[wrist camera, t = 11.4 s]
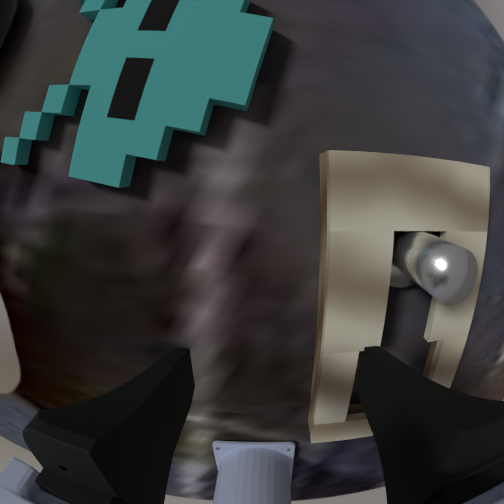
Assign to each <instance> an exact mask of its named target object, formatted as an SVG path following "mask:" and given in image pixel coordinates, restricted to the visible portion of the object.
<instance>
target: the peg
mask: <svg viewBox="0 0 504 504" xmlns="http://www.w3.org/2000/svg"><path fill="white" fill-rule="evenodd" d="M477 276H478V264H477V260H476V258H475V256H474V254H473V253H472V252H471V251H469V250H468V249H465V248H463V247H461V246H458V245H456V244H454V243H451V242H449V241H446V240H444V239H442V238H439V236H438V232H437V231H394V242H393V255H392V266H391V276H390V285H389V286H393V287H408V286H411V285H414V284H418V285H419V286H420V287H422V288H423V289H424V290H425V291H427V292H428V293H429V294H430V295H432V296H433V297H434V298H435V299H437V300H438V301H439V302H440V303H442V304H443V305H446V306H454V305H457V304H459V303H461V302H462V301H464V300H465V299H466V298H467V297H468V296H469V294H470V293H471V292H472V290H473V288H474V286H475V283H476V280H477Z"/></svg>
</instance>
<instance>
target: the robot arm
mask: <svg viewBox="0 0 504 504" xmlns="http://www.w3.org/2000/svg"><path fill="white" fill-rule="evenodd" d="M357 387H358V392H359V396H360V401H361V404H362V407H363V410H364V412H365V415H366V418H367V420H368V423H369V425H370V428H371V430H372V433H373V436H374V438H375V441H376V444H377V447H378V450H379V455H380V459H381V464H382V469H383V474H384V480H385V487H386V495H387V504H504V401H495V400H488V399H483V398H478V397H474V396H470V395H467V394H464V393H461V392H458V391H455V390H452V389H450V388H447V387H445V386H443V385H441V384H438V383H436V382H434V381H432V380H430V379H429V378H427V377H425V376H423V375H422V374H420V373H418V372H417V371H415V370H413V369H412V368H410V367H409V366H407V365H406V364H404V363H403V362H401V361H400V360H399V359H397V358H396V357H394V356H393V355H391V354H390V353H389V352H387V351H386V350H384V349H383V348H381V347H379V346H370V347H365V348H364V353H363V358H362V363H361V368H360V373H359V378H358V382H357ZM194 388H195V384H194V378H193V371H192V364H191V357H190V350H189V348H174V349H172V350H171V351H170V352H168V353H167V354H166V355H165V356H163V357H162V358H161V359H160V360H158V361H157V362H156V363H154V364H153V365H152V366H150V367H149V368H148V369H146V370H145V371H143V372H142V373H140V374H139V375H137V376H136V377H134V378H133V379H131V380H130V381H128V382H127V383H125V384H123V385H121V386H119V387H117V388H115V389H113V390H111V391H109V392H107V393H105V394H102V395H100V396H97V397H95V398H92V399H90V400H87V401H83V402H80V403H77V404H73V405H69V406H64V407H58V408H52V409H45V410H40V411H39V412H38V413H37V414H36V415H35V416H34V418H33V419H32V420H31V421H30V422H29V424H28V425H27V426H26V427H25V429H24V430H23V437H24V440H25V442H26V444H27V446H28V448H29V449H30V450H31V452H32V453H33V455H34V456H35V457H36V459H37V460H38V461H39V463H40V464H41V465H42V467H43V470H42V471H41V473H39V472H38V471H37V470H36V469H34V468H33V467H31V466H29V465H27V464H26V463H24V462H22V461H20V460H19V459H17V458H15V457H13V458H12V459H11V460H10V462H9V463H8V464H7V466H6V467H5V468H4V470H3V471H2V472H1V474H0V504H164V500H165V494H166V487H167V482H168V477H169V472H170V467H171V463H172V458H173V454H174V451H175V447H176V444H177V442H178V439H179V436H180V434H181V431H182V428H183V426H184V423H185V420H186V418H187V415H188V412H189V409H190V406H191V403H192V398H193V393H194ZM213 450H214V455H215V459H216V464H217V468H218V477H217V483H216V488H215V494H214V500H213V504H291V491H290V485H291V478H292V470H293V461H294V453H295V443H294V442H234V441H214V442H213Z"/></svg>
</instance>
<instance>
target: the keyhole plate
mask: <svg viewBox="0 0 504 504" xmlns="http://www.w3.org/2000/svg"><path fill="white" fill-rule="evenodd" d="M319 156H320V270H319V295H318V314H317V330H316V344H315V357H314V368H313V379H312V389H311V398H310V407H309V415H308V423H309V430H310V438H311V443H319V442H330V441H339V440H347V439H354V438H361V437H367V436H373V433H372V430H371V428H370V425H369V423H368V420H367V418H366V415H365V412H364V410H363V407H362V404H361V403H360V404H352V405H349V402H350V398H351V393H352V388H353V383H354V378H355V372H356V367H357V361H358V355H359V351H364V348H365V347H370V346H379V347H380V344H381V339H382V333H383V328H384V321H385V315H386V308H387V301H388V293H389V285H390V276H391V266H392V255H393V242H394V231H440V238H442V239H444V240H446V241H449V242H451V243H454V244H456V245H458V246H461V247H463V248H465V249H468V250H469V251H471V252H472V253H473V254H474V256H475V258H476V260H477V264H478V276H477V280H476V283H475V286H474V288H473V290H472V292H471V293H470V294H469V296H468V297H467V298H466V299H465V300H464V301H462V302H461V303H459V304H457V305H454V306H446V305H443V304H442V303H440V302H439V301H438V300H437V299H435V298H434V297H433V296H432V300H431V305H430V310H429V315H428V320H427V325H426V329H425V334H424V338H425V339H426V340H427V342H431V346H430V350H429V353H428V357H427V360H426V364H425V367H424V370H423V374H422V375H423V376H425V377H427V378H429V379H430V380H432V381H434V382H436V383H438V384H441V385H443V386H445V387H447V388H450V386H451V384H452V381H453V378H454V376H455V373H456V370H457V367H458V365H459V362H460V359H461V356H462V353H463V349H464V346H465V343H466V340H467V336H468V333H469V329H470V325H471V322H472V318H473V314H474V310H475V305H476V301H477V296H478V291H479V286H480V281H481V275H482V269H483V263H484V256H485V249H486V240H487V230H488V218H489V198H490V167H486V166H481V165H475V164H469V163H463V162H457V161H450V160H443V159H436V158H428V157H419V156H410V155H400V154H388V153H375V152H359V151H337V150H328V151H326V152H324V153H322V154H319Z"/></svg>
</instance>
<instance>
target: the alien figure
mask: <svg viewBox="0 0 504 504" xmlns="http://www.w3.org/2000/svg"><path fill="white" fill-rule="evenodd" d="M77 1H79V2H80V3H84V4H83V6H82V8H81V10H80V12H79V13H80V14H82V15H83V16H85V17H86V18H87V19H89V20H95V21H94V23H93V25H92V27H91V29H90V32H89V34H88V36H87V38H86V41H85V43H84V46H83V48H82V50H81V53H80V56H79V58H78V61H77V63H76V66H75V69H74V72H73V75H72V77H71V80H70V83H69V85H50V86H49V89H48V92H47V96H46V99H45V102H44V106H43V110H42V112H25V115H24V119H23V123H22V128H21V132H20V137H19V138H18V137H5V141H4V146H3V152H2V158H1V162H3V163H8V164H13V165H23V164H28V160H29V154H30V149H31V144H32V140H42V141H49V137H50V133H51V129H52V124H53V120H54V117H55V115H65V116H74V113H75V110H76V106H77V103H78V99H79V96H80V93H81V90H89V93H88V96H87V100H86V103H85V107H84V110H83V114H82V117H81V121H80V125H79V129H78V133H77V137H76V142H75V146H74V151H73V156H72V161H71V166H70V171H69V176H70V177H74V178H79V179H83V180H87V181H92V182H96V183H101V184H105V185H109V186H113V187H118V188H121V187H130V184H131V179H132V175H133V170H134V166H135V161H136V157H137V156H138V157H143V158H148V159H153V160H159V161H166V157H167V153H168V149H169V146H170V142H171V138H172V135H173V131H174V130H178V131H183V132H189V133H194V134H198V135H203V136H205V134H206V131H207V127H208V124H209V120H210V117H211V114H212V110H213V107H214V105H219V106H223V107H228V108H233V109H237V110H242V111H246V112H247V110H248V107H249V103H250V100H251V97H252V93H253V90H254V87H255V84H256V80H257V77H258V74H259V71H260V68H261V64H262V61H263V58H264V55H265V52H266V49H267V46H268V43H269V40H270V37H271V34H272V31H273V18H270V17H265V16H260V15H254V14H248V13H246V11H247V9H248V6H249V4H250V0H127V1H126V3H125V4H124V6H123V8H115V7H116V5H117V3H118V1H119V0H77Z"/></svg>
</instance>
